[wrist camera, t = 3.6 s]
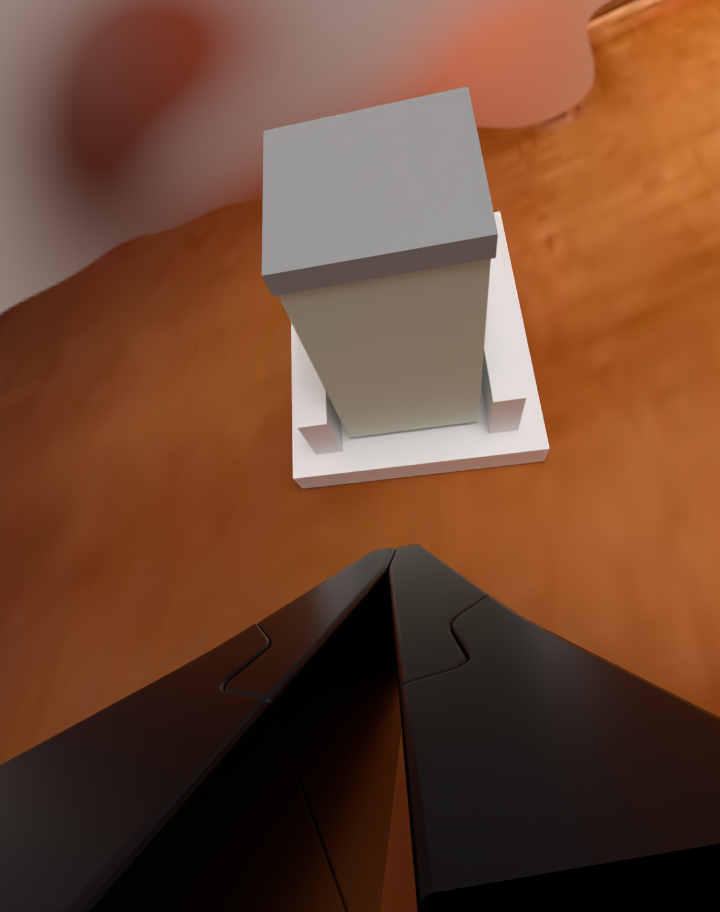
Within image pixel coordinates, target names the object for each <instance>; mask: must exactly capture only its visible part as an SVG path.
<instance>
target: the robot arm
mask: <svg viewBox="0 0 720 912" xmlns="http://www.w3.org/2000/svg"><path fill="white" fill-rule="evenodd" d="M401 728H402V738H403V750H404V761H405V772H406V784H407V795H408V807H409V818H410V829H411V841H412V852H413V864H414V875H415V886H416V898H417V909H418V912H720V717H718V716H716V715H714V714H712V713H710V712H708V711H706V710H704V709H702V708H700V707H698V706H696V705H694V704H692V703H690V702H688V701H686V700H684V699H682V698H680V697H678V696H676V695H674V694H672V693H670V692H668V691H666V690H664V689H662V688H660V687H658V686H656V685H654V684H653V683H651V682H649V681H647V680H645V679H643V678H641V677H639V676H637V675H635V674H633V673H631V672H629V671H627V670H625V669H623V668H621V667H619V666H617V665H615V664H613V663H611V662H609V661H607V660H605V659H603V658H601V657H599V656H597V655H595V654H593V653H591V652H589V651H587V650H586V649H584V648H582V647H580V646H578V645H576V644H574V643H572V642H570V641H568V640H566V639H564V638H562V637H560V636H558V635H556V634H554V633H552V632H550V631H548V630H546V629H544V628H542V627H541V626H539V625H537V624H535V623H533V622H531V621H530V620H528V619H526V618H524V617H522V616H521V615H519V614H517V613H516V612H514V611H513V610H511V609H510V608H508V607H507V606H505V605H504V604H502V603H501V602H499V601H498V600H496V599H495V598H494V597H492V596H489V595H488V594H487V593H485V592H484V591H483V590H481V589H480V588H478V587H477V586H476V585H474V584H473V583H471V582H470V581H469V580H467V579H466V578H465V577H463V576H462V575H460V574H459V573H458V572H456V571H455V570H453V569H452V568H451V567H449V566H448V565H446V564H445V563H444V562H442V561H441V560H440V559H438V558H437V557H435V556H434V555H433V554H431V553H430V552H428V551H427V550H426V549H424V548H423V547H421V546H420V545H417V544H415V545H408V546H400V547H398V548H397V550H396V549H394V548H386V549H380V550H374V551H372V552H371V553H369V554H367V555H366V556H364V557H363V558H361V559H359V560H358V561H356V562H355V563H353V564H351V565H350V566H348V567H347V568H345V569H343V570H342V571H340V572H339V573H337V574H335V575H334V576H332V577H331V578H329V579H327V580H326V581H324V582H323V583H321V584H319V585H318V586H316V587H315V588H313V589H311V590H310V591H308V592H307V593H305V594H303V595H302V596H300V597H299V598H297V599H295V600H294V601H292V602H291V603H289V604H287V605H286V606H284V607H283V608H281V609H279V610H278V611H276V612H275V613H273V614H271V615H270V616H268V617H267V618H265V619H263V620H262V621H260V622H259V623H258V624H257V625H256V624H254V625H252V626H251V627H249V628H247V629H246V630H244V631H243V632H241V633H239V634H238V635H236V636H234V637H233V638H231V639H229V640H228V641H226V642H224V643H223V644H221V645H219V646H218V647H216V648H214V649H213V650H211V651H209V652H207V653H206V654H204V655H202V656H200V657H198V658H197V659H195V660H193V661H191V662H189V663H188V664H186V665H184V666H182V667H181V668H179V669H177V670H175V671H173V672H171V673H170V674H168V675H166V676H164V677H162V678H160V679H158V680H157V681H155V682H153V683H151V684H149V685H147V686H146V687H144V688H142V689H140V690H138V691H136V692H134V693H133V694H131V695H129V696H127V697H125V698H123V699H122V700H120V701H118V702H116V703H114V704H112V705H110V706H109V707H107V708H105V709H103V710H101V711H99V712H98V713H96V714H94V715H92V716H90V717H88V718H87V719H85V720H83V721H81V722H79V723H77V724H75V725H74V726H72V727H70V728H68V729H66V730H64V731H63V732H61V733H59V734H57V735H55V736H53V737H51V738H50V739H48V740H46V741H44V742H42V743H40V744H39V745H37V746H35V747H33V748H31V749H29V750H27V751H26V752H24V753H22V754H20V755H18V756H16V757H15V758H13V759H11V760H9V761H7V762H5V763H4V764H2V765H0V912H380V906H381V897H382V889H383V880H384V872H385V863H386V855H387V846H388V838H389V829H390V821H391V812H392V804H393V795H394V787H395V779H396V770H397V762H398V753H399V745H400V736H401Z"/></svg>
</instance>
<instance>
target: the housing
mask: <svg viewBox="0 0 720 912" xmlns="http://www.w3.org/2000/svg"><path fill="white" fill-rule="evenodd" d="M494 217H495V222H496V227H497V232H498V239H497V250H496V258H493V259H491V263H490V276H489V289H488V302H487V315H486V328H485V341H484V354H483V367H482V380H481V393H480V406H479V419H478V421H477V422H470V423H462V424H454V425H446V426H438V427H430V428H422V429H414V430H406V431H398V432H391V433H383V434H375V435H367V436H359V437H351V438H350V437H349V435H348V434H347V432H346V430H345V428H344V426H343V424H342V422H341V420H340V418H339V416H338V414H337V412H336V410H335V408H334V406H333V404H332V402H331V400H330V398H329V396H328V394H327V392H326V390H325V388H324V386H323V384H322V382H321V380H320V378H319V376H318V374H317V372H316V370H315V368H314V366H313V364H312V362H311V360H310V358H309V356H308V354H307V352H306V350H305V348H304V347H303V345H302V343H301V341H300V339H299V337H298V335H297V333H296V331H295V329H294V327H293V325H292V323H291V348H292V432H293V479H294V480H295V481H296V482H297V483H298V485H299V486H300V487H301V488H302V489H305V488H313V487H322V486H331V485H340V484H349V483H357V482H366V481H375V480H384V479H393V478H401V477H410V476H419V475H428V474H437V473H445V472H454V471H463V470H472V469H481V468H489V467H498V466H507V465H516V464H525V463H533V462H542V461H544V460H545V458H546V456H547V453H548V451H549V444H548V439H547V434H546V430H545V425H544V420H543V415H542V410H541V406H540V401H539V396H538V391H537V386H536V382H535V377H534V372H533V367H532V362H531V358H530V353H529V348H528V343H527V338H526V334H525V329H524V324H523V319H522V315H521V310H520V305H519V300H518V295H517V291H516V286H515V281H514V276H513V271H512V267H511V262H510V257H509V252H508V247H507V243H506V238H505V233H504V228H503V223H502V219H501V214H500V212H494Z"/></svg>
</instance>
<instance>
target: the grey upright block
mask: <svg viewBox="0 0 720 912" xmlns="http://www.w3.org/2000/svg"><path fill="white" fill-rule="evenodd" d="M263 157H264V159H263V230H262V277H263V279H264V281H265V283H266V285H267V286H268V288H269V290H270V292H271V294H272V296H275V295H278V297H279V299H280V301H281V303H282V305H283V307H284V309H285V311H286V313H287V315H288V317H289V319H290V321H291V323H292V325H293V327H294V329H295V331H296V333H297V335H298V337H299V339H300V341H301V343H302V345H303V347H304V348H305V350H306V352H307V354H308V356H309V358H310V360H311V362H312V364H313V366H314V368H315V370H316V372H317V374H318V376H319V378H320V380H321V382H322V384H323V386H324V388H325V390H326V392H327V394H328V396H329V398H330V400H331V402H332V404H333V406H334V408H335V410H336V412H337V414H338V416H339V418H340V420H341V422H342V424H343V426H344V428H345V430H346V432H347V434H348V435H349V437H350V438H351V437H359V436H367V435H375V434H383V433H391V432H398V431H406V430H414V429H422V428H430V427H438V426H446V425H454V424H462V423H470V422H477V421H478V419H479V406H480V393H481V380H482V367H483V354H484V341H485V328H486V315H487V302H488V289H489V276H490V263H491V259H493V258H496V250H497V239H498V232H497V227H496V222H495V217H494V212H493V207H492V202H491V197H490V192H489V187H488V182H487V178H486V173H485V168H484V163H483V158H482V153H481V148H480V143H479V138H478V133H477V128H476V123H475V118H474V114H473V109H472V103H471V99H470V94H469V89H468V87H463V88H459V89H454V90H450V91H445V92H440V93H436V94H431V95H426V96H422V97H417V98H413V99H408V100H404V101H399V102H394V103H390V104H385V105H381V106H376V107H371V108H367V109H362V110H358V111H353V112H348V113H344V114H339V115H335V116H330V117H325V118H321V119H316V120H312V121H307V122H303V123H298V124H293V125H289V126H284V127H280V128H275V129H271V130H266V131H264V155H263Z"/></svg>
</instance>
